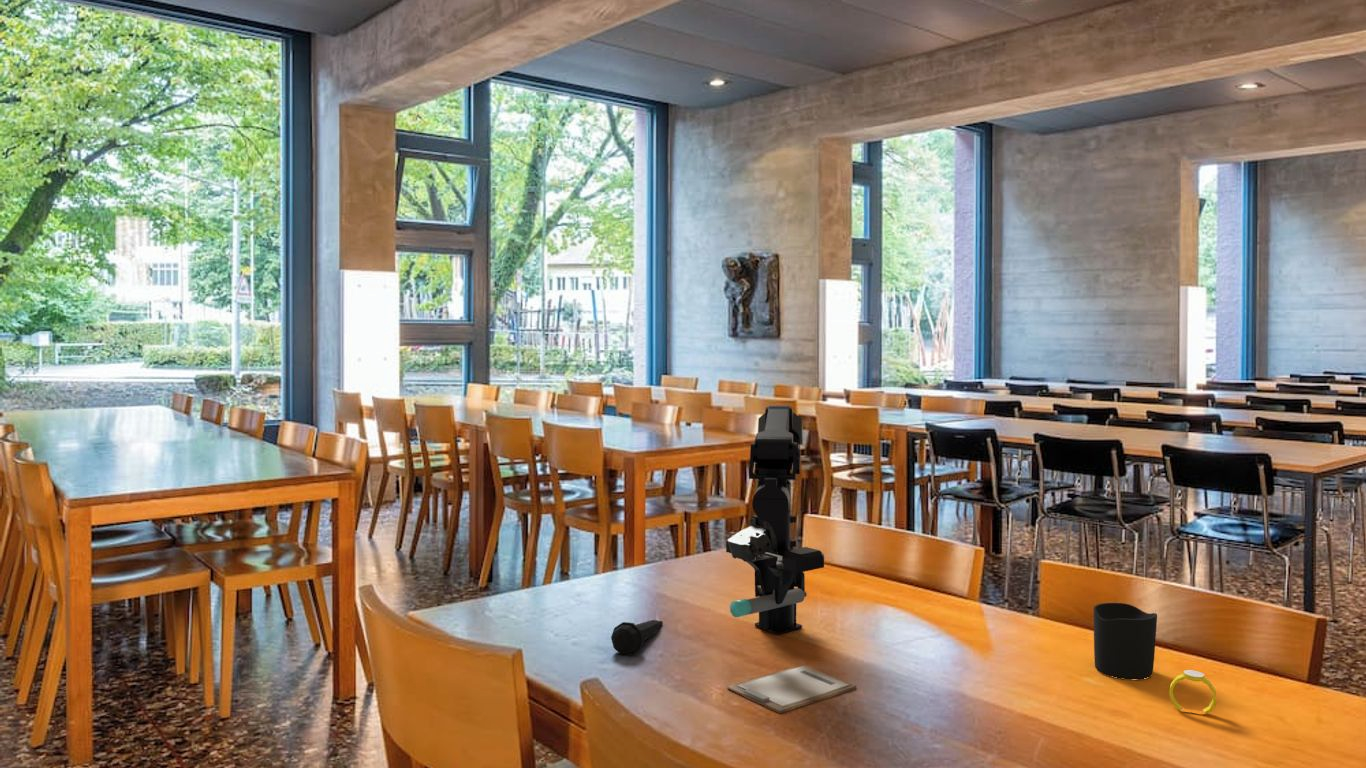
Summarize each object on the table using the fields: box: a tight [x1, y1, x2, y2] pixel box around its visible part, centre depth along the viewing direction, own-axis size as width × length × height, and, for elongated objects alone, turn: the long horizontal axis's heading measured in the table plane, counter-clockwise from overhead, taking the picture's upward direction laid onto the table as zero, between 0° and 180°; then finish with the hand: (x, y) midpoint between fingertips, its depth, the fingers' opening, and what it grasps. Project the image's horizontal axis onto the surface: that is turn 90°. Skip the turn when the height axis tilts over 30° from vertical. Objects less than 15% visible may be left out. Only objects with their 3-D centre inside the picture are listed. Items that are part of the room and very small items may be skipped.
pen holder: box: [1093, 602, 1158, 680], centre depth 161 cm, size 9×9×10 cm
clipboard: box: [726, 664, 857, 714], centre depth 155 cm, size 16×12×1 cm
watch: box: [1169, 669, 1217, 714], centre depth 145 cm, size 6×3×6 cm, turn 64°
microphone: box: [610, 619, 664, 656], centre depth 178 cm, size 6×6×20 cm
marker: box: [729, 587, 808, 618], centre depth 167 cm, size 16×3×3 cm, turn 127°
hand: (773, 602), depth 168 cm, fingers closed on marker, 2 cm apart
